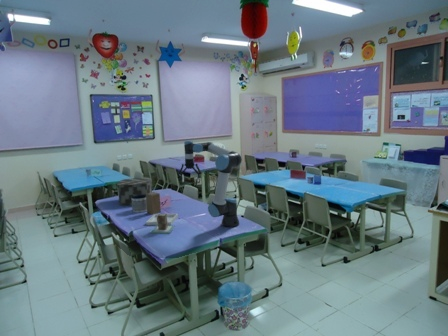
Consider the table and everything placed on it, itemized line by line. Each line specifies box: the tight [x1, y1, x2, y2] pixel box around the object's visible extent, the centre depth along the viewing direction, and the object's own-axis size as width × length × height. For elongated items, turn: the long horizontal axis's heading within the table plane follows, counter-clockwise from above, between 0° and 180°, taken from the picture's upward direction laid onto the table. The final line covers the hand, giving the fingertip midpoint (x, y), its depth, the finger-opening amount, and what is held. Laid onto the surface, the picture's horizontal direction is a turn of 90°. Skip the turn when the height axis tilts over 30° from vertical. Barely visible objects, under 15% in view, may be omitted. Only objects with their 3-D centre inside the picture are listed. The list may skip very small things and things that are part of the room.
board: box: [150, 225, 176, 235], centre depth 271 cm, size 16×16×1 cm
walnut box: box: [157, 213, 169, 230], centre depth 269 cm, size 6×6×12 cm
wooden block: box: [146, 191, 162, 215], centre depth 318 cm, size 10×10×20 cm
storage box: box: [116, 177, 153, 207], centre depth 365 cm, size 35×35×23 cm
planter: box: [131, 195, 147, 214], centre depth 329 cm, size 16×16×14 cm
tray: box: [145, 213, 179, 226], centre depth 293 cm, size 22×24×4 cm
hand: (190, 181), depth 291 cm, fingers open, 13 cm apart
